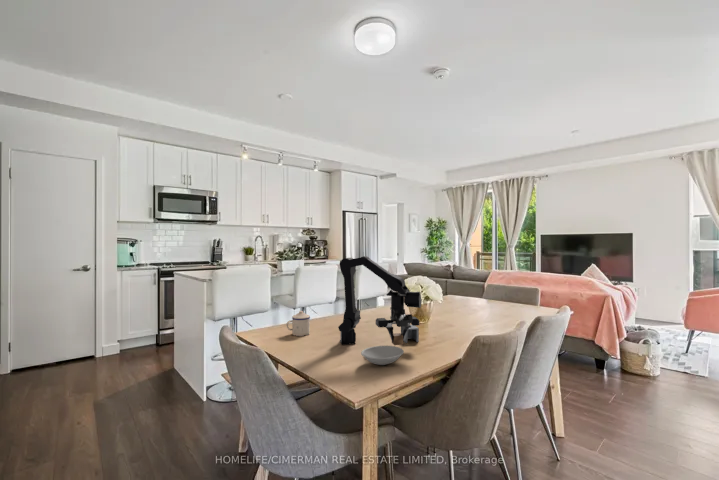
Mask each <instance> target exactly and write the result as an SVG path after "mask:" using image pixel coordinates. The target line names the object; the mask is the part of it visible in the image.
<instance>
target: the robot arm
mask: <svg viewBox="0 0 719 480" xmlns="http://www.w3.org/2000/svg"><path fill="white" fill-rule="evenodd" d="M359 266H363V267H365V268H366V269H368V270H369V271H370V272H371V273H373V274H374V275H376V276H377V277H378V278H380V279H381V280H383V282H384V283H385V284H386V286H387V287H388V288H389V289H390V290H389V291H388V293H386V296H390V308H389V309H390V317H389V318H390V319H386V318H385V317H377V318H376V319H375V325H376V326H377V327H378V328H386V329H387V332H388V333H389V338H390V340H391V343H392V342H393V339H394V338H393V334H394V326H393V325H396V326H397V327H398V328H400V333H401V334H402V335H403V339H404V336H405V334H406V331H407V330H408V329H409V328H411V326H410V325H413V326H416V327H418V326H420V319H419V318H417V317H416V316H413V315H412V314H410V313H409V314H407V313H406V309H405V306H406V307H407V308H417V309H418V308H419V309H421V308H422V300H423V299H422V295H421V291H410V289H409V287H408V286H407V285H406V281H405V279H404V278H403V277H402V276H399V275H397V274H394V273H392V272H390V271H388V270H386V269H385V268H384V267H382V265H379V264H378V263H377V262H375V261H374V260H373V259H371V258H370V257H369V256H368V255H365V256H364V255H363V256H360V257H357V258H354V257H345V258H342V259H341V260H340V262H339V269H340V272H341V275H342V277H343V284H344V285H343V286H344V300H345V301H344V302H345V310H344V314H343V319H342V323H341V324H340V325H338V327H337V328H338V330H339V332H340V333H339V334H340V339H339V342H340V345H341V346H342V345H343V346H345V345H356V342H357V341H356V340H357V335H356V334H357V333H356V330H355V329H356V326H357V325H358V324H359V323H360V320H361V319H362V317H361V310H358V309H357V307H356V295H355V294H356V291H355V273H356V269H357V267H359Z"/></svg>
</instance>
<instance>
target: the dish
mask: <svg viewBox="0 0 719 480" xmlns="http://www.w3.org/2000/svg"><path fill="white" fill-rule="evenodd" d="M404 352H405V351H404V350H403V348H401V347H399V346H396V345H394V346H393V345H375V346H370V347H369V346H368V347H367V348H364V349H363V350H361V352H360V354H361V356H362V357H364V359H366V360H367V361H368V362H370V363H371V364H375V365H380V366H385V365H388V364H392V363H394V362H395V361H397V360H398V359H400V357H401V356H402V355H403V354H404Z"/></svg>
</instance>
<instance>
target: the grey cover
mask: <svg viewBox="0 0 719 480" xmlns="http://www.w3.org/2000/svg"><path fill="white" fill-rule="evenodd" d="M410 326H411V328H409V329H408V330H407V331H406V334H405V336H404V339H403V343H406V344H407V343H408V341H409V340H410V339H411V340H413V341H415V342H416V343H419V342H420V336H419V335H420V330H419V329H420V328H419V327H418V326H413V325H412V324H410Z"/></svg>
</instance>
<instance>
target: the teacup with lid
mask: <svg viewBox="0 0 719 480" xmlns="http://www.w3.org/2000/svg"><path fill="white" fill-rule="evenodd" d="M310 322H311V316H310V315H309V314H306V313H305V312H304V311H303V310H299V311H298V313H296V314H293V315H292V317H291V320H289V321H286V326H285V327H286V329H287V330H289V331H292V336H295V335H296V337H305V336H304V335H306V336H308V335H310V334H311V333H310V332H311V331H310V329H311V328H310V325H311V324H310ZM289 323H292V327H291V328H289Z"/></svg>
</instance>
